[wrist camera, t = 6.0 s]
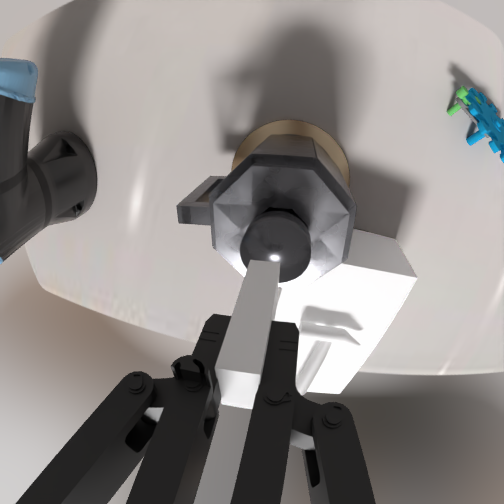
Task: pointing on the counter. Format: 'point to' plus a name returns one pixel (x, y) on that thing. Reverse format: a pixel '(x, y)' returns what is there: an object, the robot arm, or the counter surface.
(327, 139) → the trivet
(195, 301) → the counter surface
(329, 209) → the carafe
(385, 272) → the tissue box
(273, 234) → the plunger
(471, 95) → the gear
